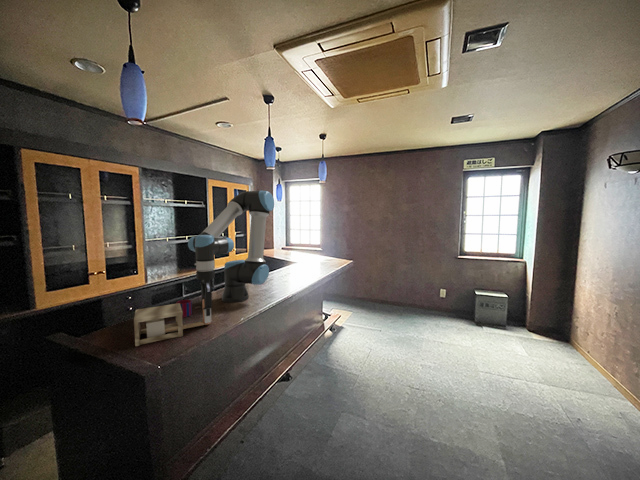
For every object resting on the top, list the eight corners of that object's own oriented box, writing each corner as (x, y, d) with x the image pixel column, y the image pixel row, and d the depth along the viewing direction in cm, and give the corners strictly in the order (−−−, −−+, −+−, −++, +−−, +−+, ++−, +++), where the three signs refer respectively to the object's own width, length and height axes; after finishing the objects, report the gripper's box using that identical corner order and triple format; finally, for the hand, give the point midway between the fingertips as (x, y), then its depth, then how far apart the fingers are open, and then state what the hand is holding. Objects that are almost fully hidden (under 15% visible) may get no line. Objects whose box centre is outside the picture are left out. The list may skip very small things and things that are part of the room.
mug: (194, 313, 128) (194, 300, 128) (177, 321, 119) (176, 307, 118) (185, 311, 131) (184, 298, 130) (167, 318, 122) (166, 305, 121)
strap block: (209, 320, 118) (209, 297, 117) (212, 324, 113) (211, 300, 112) (147, 332, 105) (145, 306, 104) (147, 338, 100) (145, 311, 99)
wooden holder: (180, 325, 115) (179, 303, 114) (183, 335, 104) (182, 311, 103) (137, 333, 106) (135, 309, 105) (135, 346, 95) (133, 320, 95)
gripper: (193, 267, 118) (195, 316, 120) (199, 274, 104) (201, 329, 106) (211, 265, 122) (212, 313, 124) (218, 272, 108) (219, 325, 110)
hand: (207, 320), depth 115 cm, fingers closed on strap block, 3 cm apart
